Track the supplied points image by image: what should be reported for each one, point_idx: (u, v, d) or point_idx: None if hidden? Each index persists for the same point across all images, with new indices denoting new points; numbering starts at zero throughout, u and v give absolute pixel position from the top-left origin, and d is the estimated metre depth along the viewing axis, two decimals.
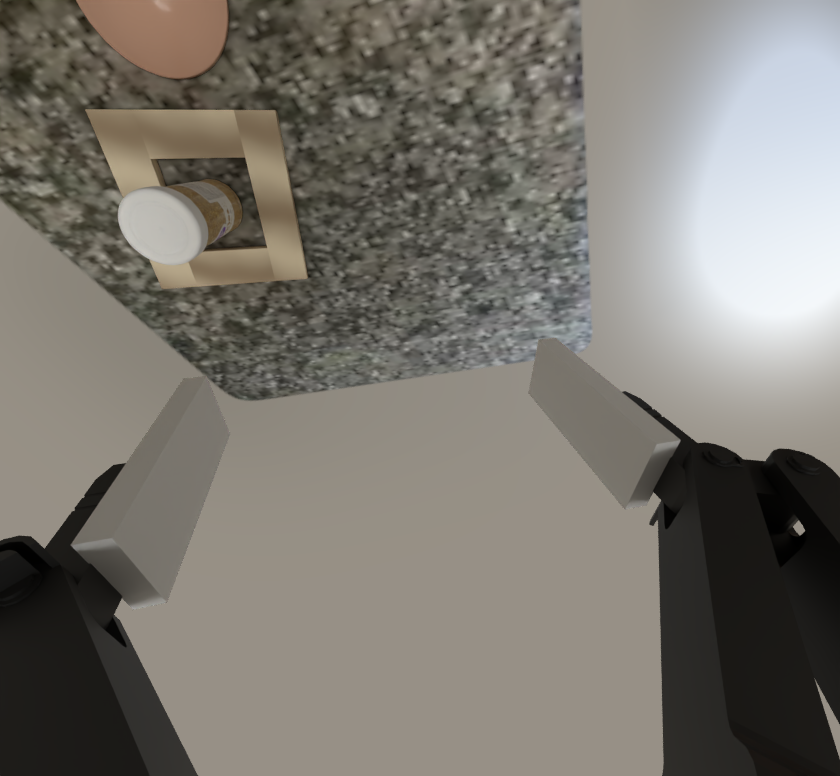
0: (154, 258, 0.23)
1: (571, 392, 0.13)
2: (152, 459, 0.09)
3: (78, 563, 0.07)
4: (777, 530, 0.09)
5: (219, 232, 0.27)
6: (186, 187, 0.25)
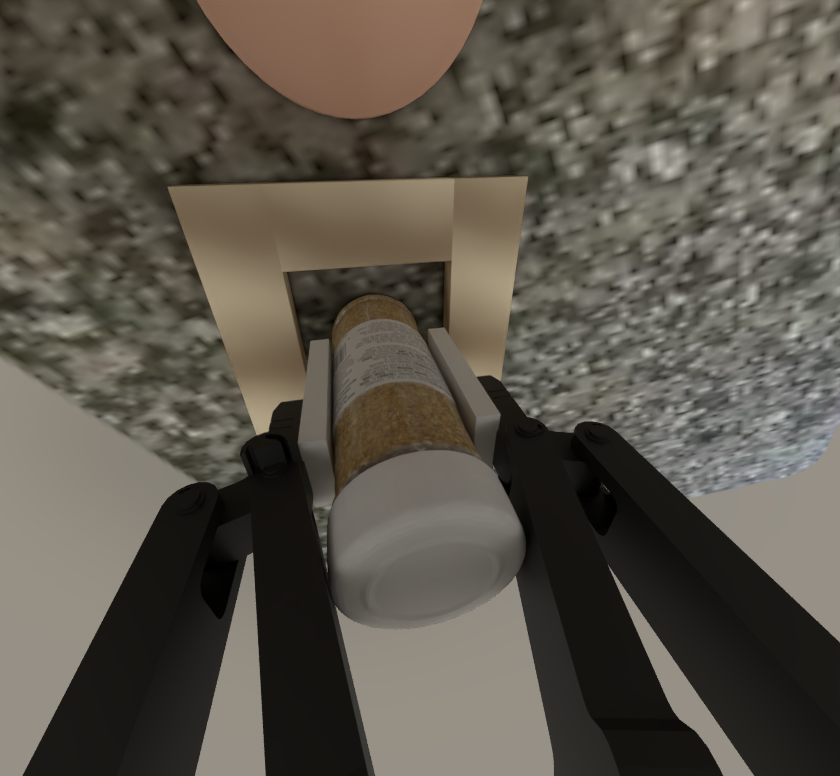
0: (395, 628, 0.08)
1: (443, 376, 0.14)
2: (322, 393, 0.11)
3: None
4: (594, 493, 0.10)
5: None
6: (419, 384, 0.11)
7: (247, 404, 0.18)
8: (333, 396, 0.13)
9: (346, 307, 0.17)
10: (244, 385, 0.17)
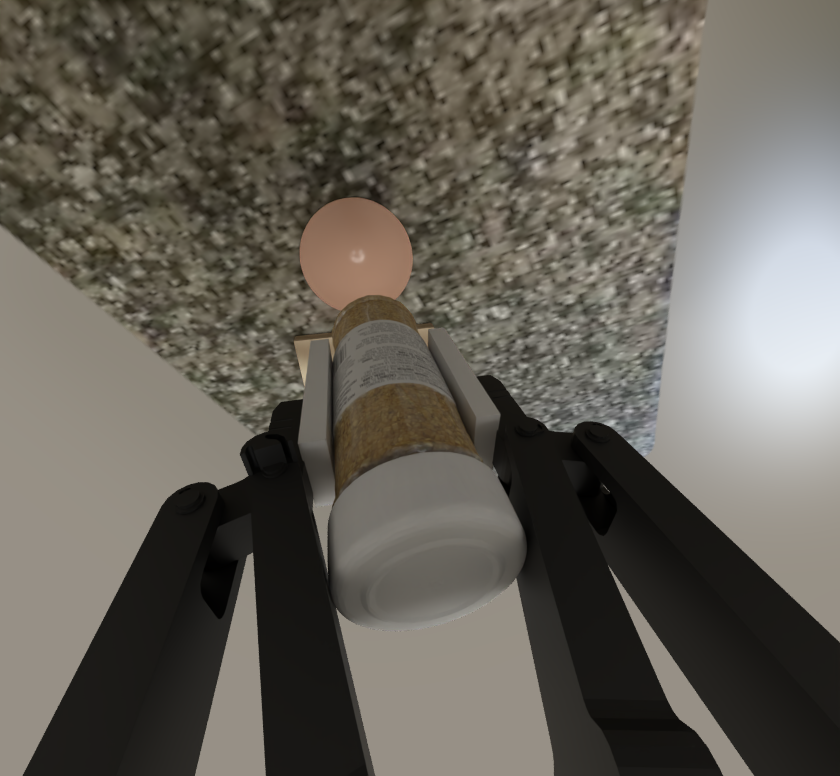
0: (395, 630, 0.08)
1: (443, 376, 0.14)
2: (322, 393, 0.11)
3: None
4: (594, 493, 0.10)
5: None
6: (420, 385, 0.11)
7: None
8: (333, 397, 0.13)
9: (346, 308, 0.17)
10: None
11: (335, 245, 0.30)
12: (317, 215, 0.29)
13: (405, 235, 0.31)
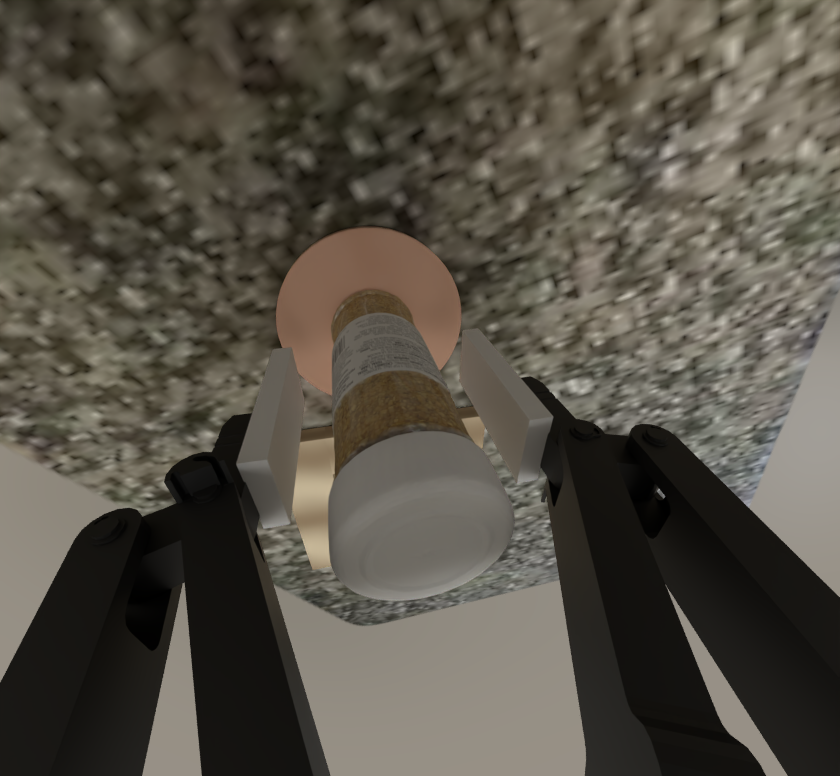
0: (392, 599, 0.09)
1: (482, 377, 0.14)
2: (273, 407, 0.11)
3: (236, 481, 0.09)
4: (646, 498, 0.10)
5: None
6: (415, 372, 0.11)
7: (303, 539, 0.27)
8: (332, 386, 0.13)
9: (345, 302, 0.17)
10: (302, 530, 0.26)
11: (336, 305, 0.18)
12: (305, 258, 0.17)
13: (452, 286, 0.19)
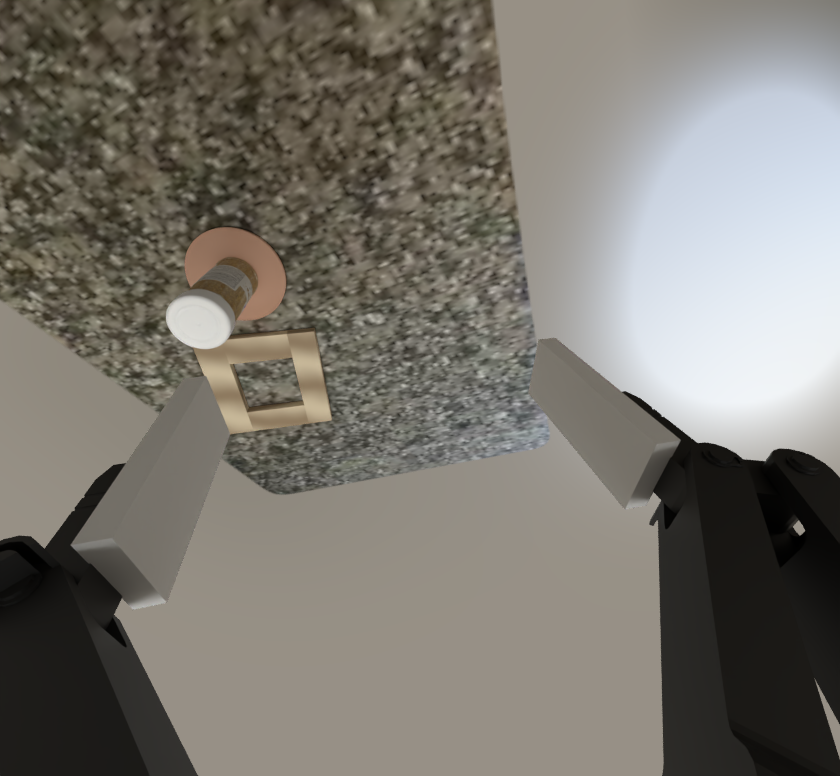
0: (193, 345, 0.28)
1: (571, 392, 0.13)
2: (152, 459, 0.09)
3: (78, 563, 0.07)
4: (778, 530, 0.09)
5: (241, 311, 0.33)
6: (216, 280, 0.30)
7: None
8: None
9: (217, 263, 0.37)
10: (217, 402, 0.46)
11: None
12: (195, 241, 0.36)
13: (274, 256, 0.38)
